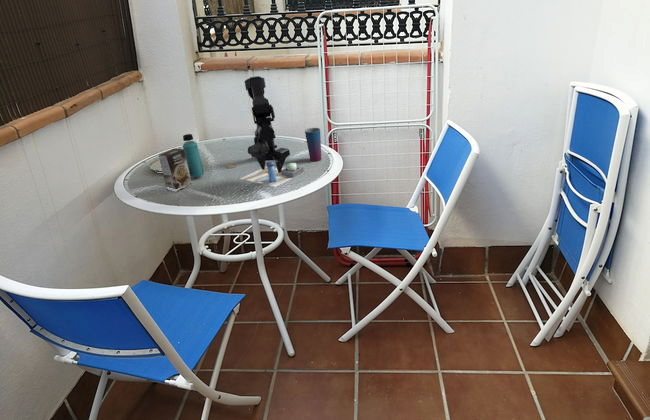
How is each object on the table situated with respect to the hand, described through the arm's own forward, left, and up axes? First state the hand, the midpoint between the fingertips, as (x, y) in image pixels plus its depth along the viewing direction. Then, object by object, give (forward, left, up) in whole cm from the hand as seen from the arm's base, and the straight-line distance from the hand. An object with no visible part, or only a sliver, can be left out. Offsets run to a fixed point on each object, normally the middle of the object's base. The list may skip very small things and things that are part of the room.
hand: (271, 171), depth 199 cm
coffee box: (-36, -21, -6) cm, 42 cm away
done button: (+1, +11, -4) cm, 11 cm away
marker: (0, 0, -5) cm, 5 cm away
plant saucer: (-61, -5, -6) cm, 62 cm away
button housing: (+1, +11, -5) cm, 12 cm away
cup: (0, +28, -6) cm, 29 cm away
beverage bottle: (-38, -10, -6) cm, 40 cm away
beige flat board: (-6, +5, -6) cm, 9 cm away
